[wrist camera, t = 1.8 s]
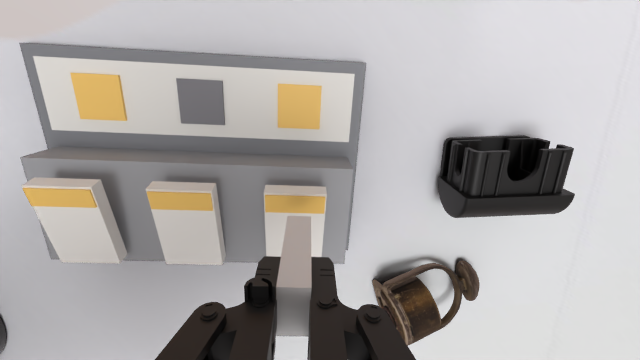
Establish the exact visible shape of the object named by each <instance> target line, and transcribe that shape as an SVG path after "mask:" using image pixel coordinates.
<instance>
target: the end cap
mask: <svg viewBox="0 0 640 360" xmlns="http://www.w3.org/2000/svg"><path fill="white" fill-rule="evenodd" d="M549 145H550V141H547V140H543V139H539V138H530V137H527V136H492V137H461V138H448V139H446V140H445V142H444V147H443V154H442V162H441V170H440V176H439V180H438V188H439V195H440V199H441V203H442V205H443V207H444V209H445V211H446V212H447V213H448V214H449V215H450V216H452V217H454V218H463V217H487V216H512V215H536V214H555V213H559V212H561V211H563V210H565V209H566V208H567V207H568V206H569V205H570V203H571V202H572V200H573V198H574V195H575V194H574V193H572V192H569V191H567V190H565V189H563V185H564V182H565V178H566V175H567V171H568V168H569V164H570V161H571V157H572V154H573V150H574V148H572V147H568V146H565V145H557V147H556V149H549Z"/></svg>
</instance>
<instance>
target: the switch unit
mask: <svg viewBox="0 0 640 360" xmlns="http://www.w3.org/2000/svg"><path fill="white" fill-rule="evenodd" d="M19 44H20V47H21V51H22V55H23V58H24V62H25V66H26V70H27V73H28V77H29V81H30V84H31V88H32V92H33V96H34V99H35V103H36V107H37V110H38V114H39V118H40V122H41V125H42V129H43V133H44V136H45V140H46V144H47V148H48V149H47V150H44V151H40V152H37V153H34V154H30V155H27V156H24V157H20V159H21V162H22V165H23V168H24V172H25V175H26V178H27V182H28V181H29V180H31V179H32V178H34V177H38V178H69V179H101V182H102V185H103V187H104V190H105V193H106V196H107V198H108V201H109V204H110V207H111V210H112V212H113V215H114V218H115V221H116V223H117V226H118V229H119V232H120V235H121V237H122V240H123V243H124V246H125V248H126V251H127V255H126V257H125V258H124V259H123V260H132V261H165V258H164V254H163V250H162V247H161V243H160V240H159V236H158V232H157V229H156V225H155V222H154V218H153V214H152V211H151V207H150V203H149V200H148V196H147V193H146V188H147V187H148V186H149V185H150V183H151V182H152V181H164V182H195V183H216V187H217V195H218V202H219V209H220V217H221V224H222V231H223V239H224V246H225V253H226V256H225V259H224V262H259V261H260V260H261V259H262V258H263V257H264V256H266V237H265V213H264V189H265V185H289V186H321V187H326V191H327V199H326V211H325V222H324V234H323V246H322V257H329V258H330V259H331V261H332V262H333V264H344V260H345V250H348V243H349V233H350V223H351V213H352V202H353V192H354V182H355V172H356V162H357V152H358V141H359V131H360V121H361V111H362V101H363V90H364V80H365V70H366V63H359V62H342V61H325V60H308V59H291V58H273V57H256V56H239V55H222V54H204V53H187V52H170V51H153V50H136V49H118V48H101V47H84V46H67V45H50V44H32V43H19ZM39 221H40V220H39ZM40 224H41V222H40ZM41 227H42V231H43V234H44V237H45V241H46V244H47V247H48V250H49V254H50V257H51V259H60V258H59V256H58V255H57V253H56V251H55V249H54V247H53V245H52V243H51V241H50V239H49V237H48V235H47V233H46V231H45V230H44V228H43V226H42V224H41Z"/></svg>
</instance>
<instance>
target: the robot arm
mask: <svg viewBox="0 0 640 360" xmlns="http://www.w3.org/2000/svg"><path fill="white" fill-rule="evenodd" d="M244 291H245V302H244V303H242V304H240V305H238V306H235V307H232V308H227V309H225V307H224V306H223V304H220V303H218V302H210V303H205V304H203V305H201V306H199V307H198V308H197V309H196V310H195V311H194V312H193V313H192V315H191V316H190V317H189V318H188V320H187V321H186V322H185V323H184V324H183V326H182V327H181V328H180V329H179V331H178V332H177V333H176V334H175V336H174V337H173V338H172V339H171V341H170V342H169V343H168V344H167V345H166V347H165V348H164V349H163V350H162V352H161V353H160V354H159V355H158V357H157V358H156V359H155V360H274V354H275V337H276V336H309V340H308V359H307V360H347V359H348V360H416V359H415V357H414V356H413V354H412V353H411V351H410V349H409V348H408V346H407V345H406V343H405V341H404V340H403V338H402V337H401V335H400V333H399V332H398V330H397V329H396V327H395V325H394V324H393V322H392V321H391V319H390V317H389V316H388V314H387V313H386V312H385V311H384V309H382V308H381V307H379V306H376V305H373V304H366V305H363V306H361V307H360V308H359V309H358V310H355V309H352V308H349V307H347V306H345V305H343V304H342V303H341V302H340V301H339V299H338V296H337V289H336V281H335V272H334V264H333V262H332V261H331V259H330V258H329V257H311V217H309V216H287V222H286V228H285V234H284V241H283V247H282V253H281V257H275V256H264V257H263V258H262V259H261V260H260V261H259V263H258V267H257V271H256V275H255V278H252V279H250V280H249V281H247V282H246V284H245V286H244ZM5 343H6V331H5V327H4V324H3V322H2V320H1V318H0V353H1V352H2V350H3V349H4V346H5Z"/></svg>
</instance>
